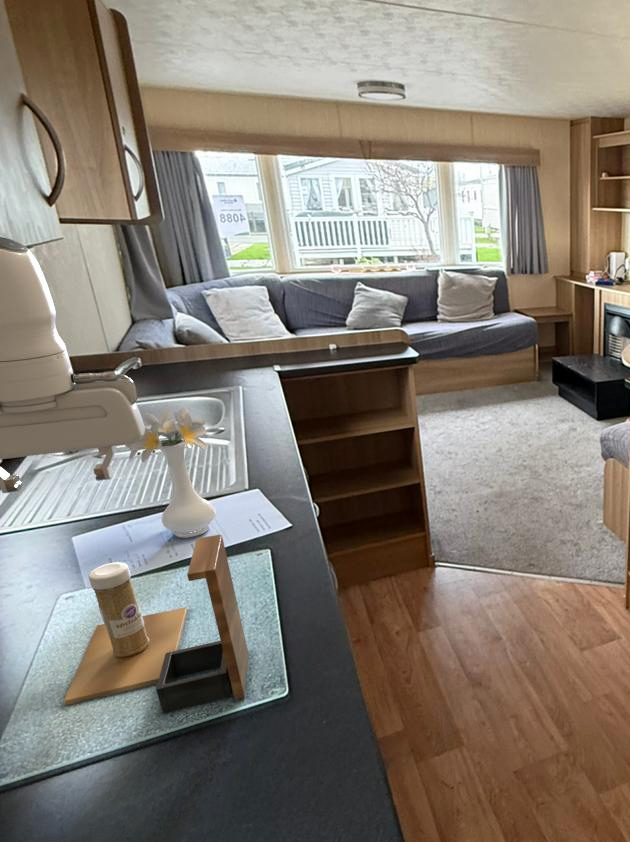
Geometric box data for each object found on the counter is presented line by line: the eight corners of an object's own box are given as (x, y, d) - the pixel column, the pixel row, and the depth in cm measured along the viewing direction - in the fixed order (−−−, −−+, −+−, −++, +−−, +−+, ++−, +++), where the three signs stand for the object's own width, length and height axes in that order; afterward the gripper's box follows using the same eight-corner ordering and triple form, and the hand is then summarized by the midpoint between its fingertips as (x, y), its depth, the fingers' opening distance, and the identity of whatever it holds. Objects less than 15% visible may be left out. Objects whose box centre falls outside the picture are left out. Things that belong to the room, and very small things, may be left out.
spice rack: (161, 719, 84) (122, 586, 77) (173, 671, 92) (138, 547, 85) (244, 698, 87) (214, 569, 80) (248, 653, 96) (221, 534, 89)
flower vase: (228, 506, 142) (204, 396, 134) (225, 542, 127) (198, 421, 118) (158, 517, 137) (128, 404, 128) (146, 557, 121) (112, 432, 113)
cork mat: (65, 705, 86) (63, 701, 86) (98, 629, 101) (97, 625, 101) (170, 680, 90) (169, 675, 90) (187, 611, 106) (186, 606, 106)
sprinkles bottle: (135, 659, 93) (110, 579, 89) (105, 657, 94) (79, 577, 89) (157, 639, 98) (135, 561, 93) (129, 637, 98) (105, 560, 93)
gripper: (135, 364, 84) (160, 463, 88) (-73, 380, 76) (-33, 488, 81) (125, 375, 78) (152, 480, 83) (-100, 394, 70) (-55, 508, 75)
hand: (60, 484), depth 82 cm, fingers open, 8 cm apart
